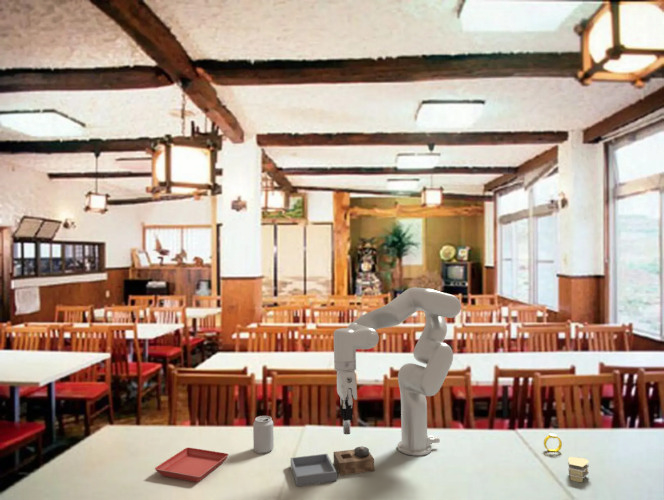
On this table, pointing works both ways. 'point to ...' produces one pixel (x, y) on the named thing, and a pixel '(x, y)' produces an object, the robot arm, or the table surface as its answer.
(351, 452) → the block
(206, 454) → the plant saucer
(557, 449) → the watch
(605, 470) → the table surface
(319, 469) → the tray
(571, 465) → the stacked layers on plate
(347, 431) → the lock pin
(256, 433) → the can
